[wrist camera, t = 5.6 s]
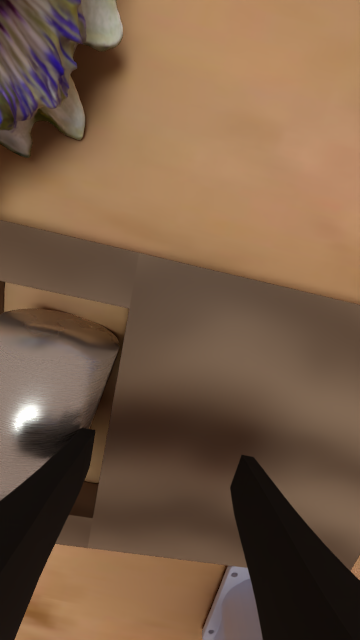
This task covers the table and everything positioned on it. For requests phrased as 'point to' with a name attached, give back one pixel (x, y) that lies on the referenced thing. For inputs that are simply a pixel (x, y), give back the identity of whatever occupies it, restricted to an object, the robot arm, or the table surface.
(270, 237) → the table surface
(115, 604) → the table surface
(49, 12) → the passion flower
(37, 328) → the roller
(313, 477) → the grey brown board
